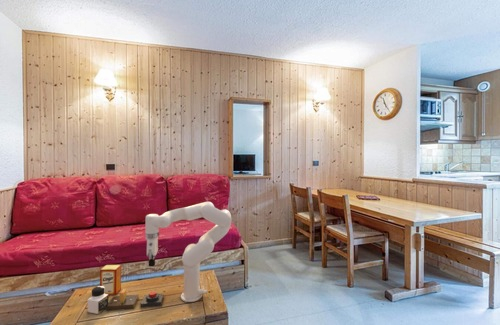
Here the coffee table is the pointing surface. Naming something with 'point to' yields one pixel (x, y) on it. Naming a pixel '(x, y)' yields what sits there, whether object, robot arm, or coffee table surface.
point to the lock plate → (127, 304)
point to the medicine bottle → (98, 300)
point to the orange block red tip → (123, 296)
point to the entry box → (152, 300)
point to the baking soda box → (111, 279)
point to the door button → (152, 294)
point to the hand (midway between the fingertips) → (151, 265)
